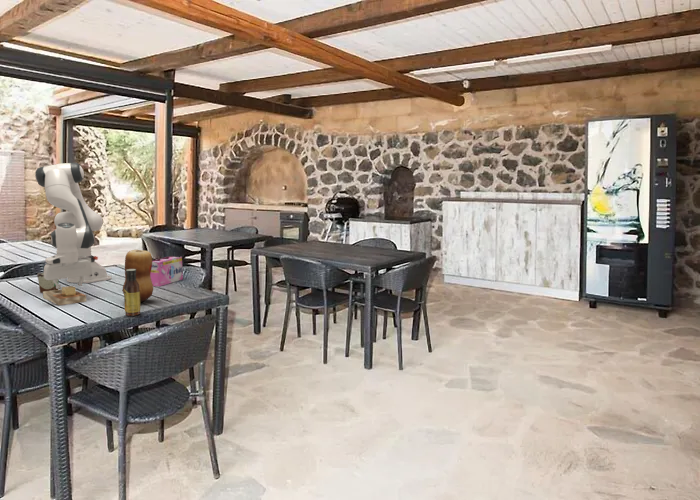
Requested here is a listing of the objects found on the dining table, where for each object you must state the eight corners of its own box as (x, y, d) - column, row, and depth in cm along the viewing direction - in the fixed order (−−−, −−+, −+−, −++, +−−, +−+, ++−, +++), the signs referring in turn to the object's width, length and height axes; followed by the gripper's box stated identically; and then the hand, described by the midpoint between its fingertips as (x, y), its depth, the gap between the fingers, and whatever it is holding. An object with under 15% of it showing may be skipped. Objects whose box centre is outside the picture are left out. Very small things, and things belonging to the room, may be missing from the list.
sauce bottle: (127, 312, 225) (126, 268, 223) (142, 312, 226) (141, 268, 223) (122, 316, 219) (120, 270, 216) (137, 316, 220) (136, 270, 217)
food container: (66, 292, 262) (65, 273, 260) (56, 294, 256) (55, 275, 254) (48, 290, 266) (47, 271, 264) (37, 292, 260) (36, 273, 258)
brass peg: (72, 300, 246) (71, 285, 245) (76, 301, 243) (75, 287, 242) (62, 301, 242) (61, 287, 242) (66, 303, 240) (65, 288, 239)
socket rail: (69, 294, 258) (69, 287, 258) (86, 301, 244) (86, 294, 243) (43, 297, 249) (42, 291, 249) (58, 305, 235) (58, 298, 235)
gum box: (172, 278, 306) (172, 255, 304) (184, 279, 304) (184, 256, 302) (147, 285, 283) (146, 261, 281) (159, 286, 281) (158, 262, 279)
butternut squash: (152, 305, 240) (150, 251, 237) (121, 306, 236) (119, 252, 233) (154, 298, 253) (153, 248, 250) (125, 299, 249) (123, 248, 246)
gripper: (88, 255, 250) (89, 282, 252) (41, 259, 235) (43, 289, 237) (93, 256, 246) (95, 285, 248) (46, 261, 231) (48, 291, 233)
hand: (69, 287), depth 242 cm, fingers open, 8 cm apart
